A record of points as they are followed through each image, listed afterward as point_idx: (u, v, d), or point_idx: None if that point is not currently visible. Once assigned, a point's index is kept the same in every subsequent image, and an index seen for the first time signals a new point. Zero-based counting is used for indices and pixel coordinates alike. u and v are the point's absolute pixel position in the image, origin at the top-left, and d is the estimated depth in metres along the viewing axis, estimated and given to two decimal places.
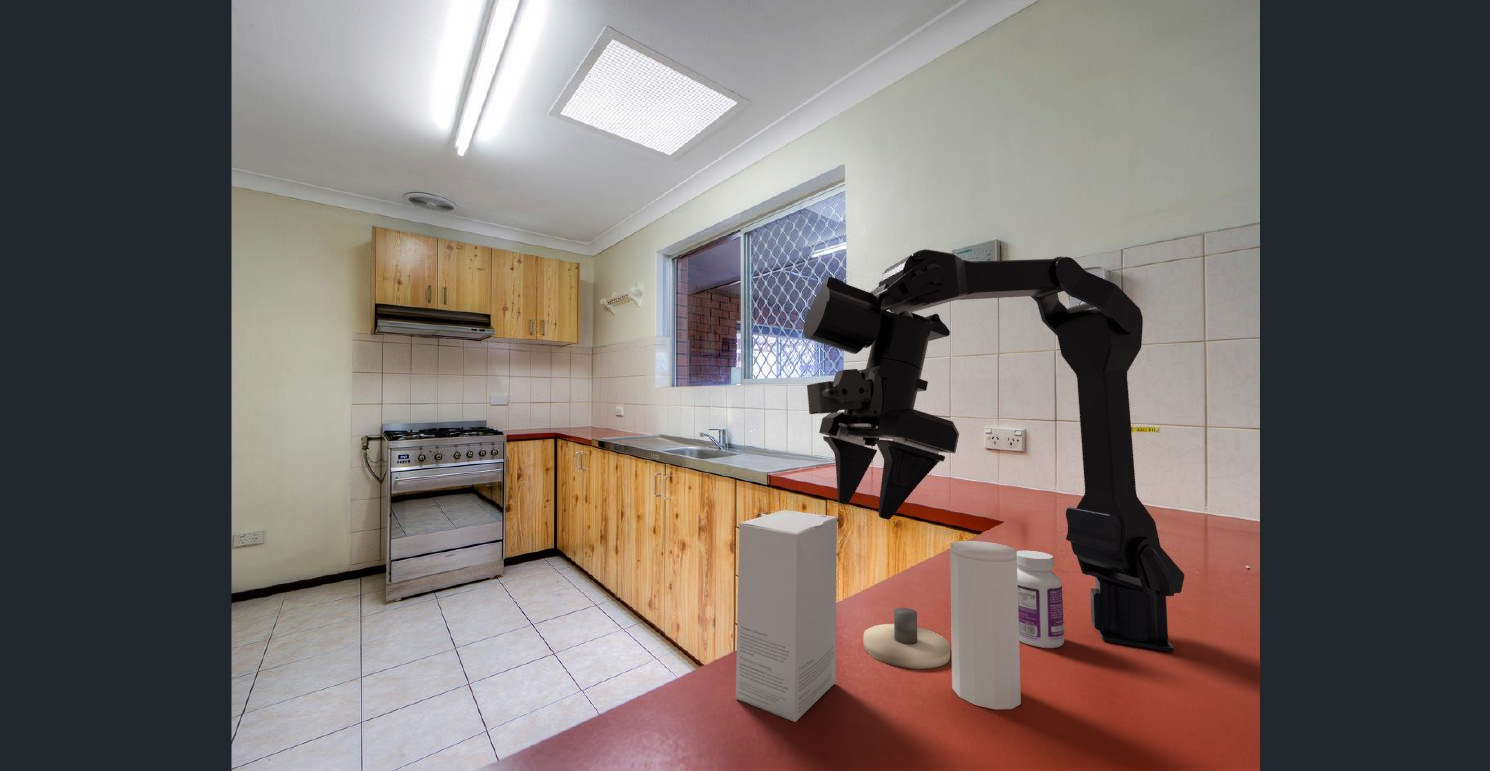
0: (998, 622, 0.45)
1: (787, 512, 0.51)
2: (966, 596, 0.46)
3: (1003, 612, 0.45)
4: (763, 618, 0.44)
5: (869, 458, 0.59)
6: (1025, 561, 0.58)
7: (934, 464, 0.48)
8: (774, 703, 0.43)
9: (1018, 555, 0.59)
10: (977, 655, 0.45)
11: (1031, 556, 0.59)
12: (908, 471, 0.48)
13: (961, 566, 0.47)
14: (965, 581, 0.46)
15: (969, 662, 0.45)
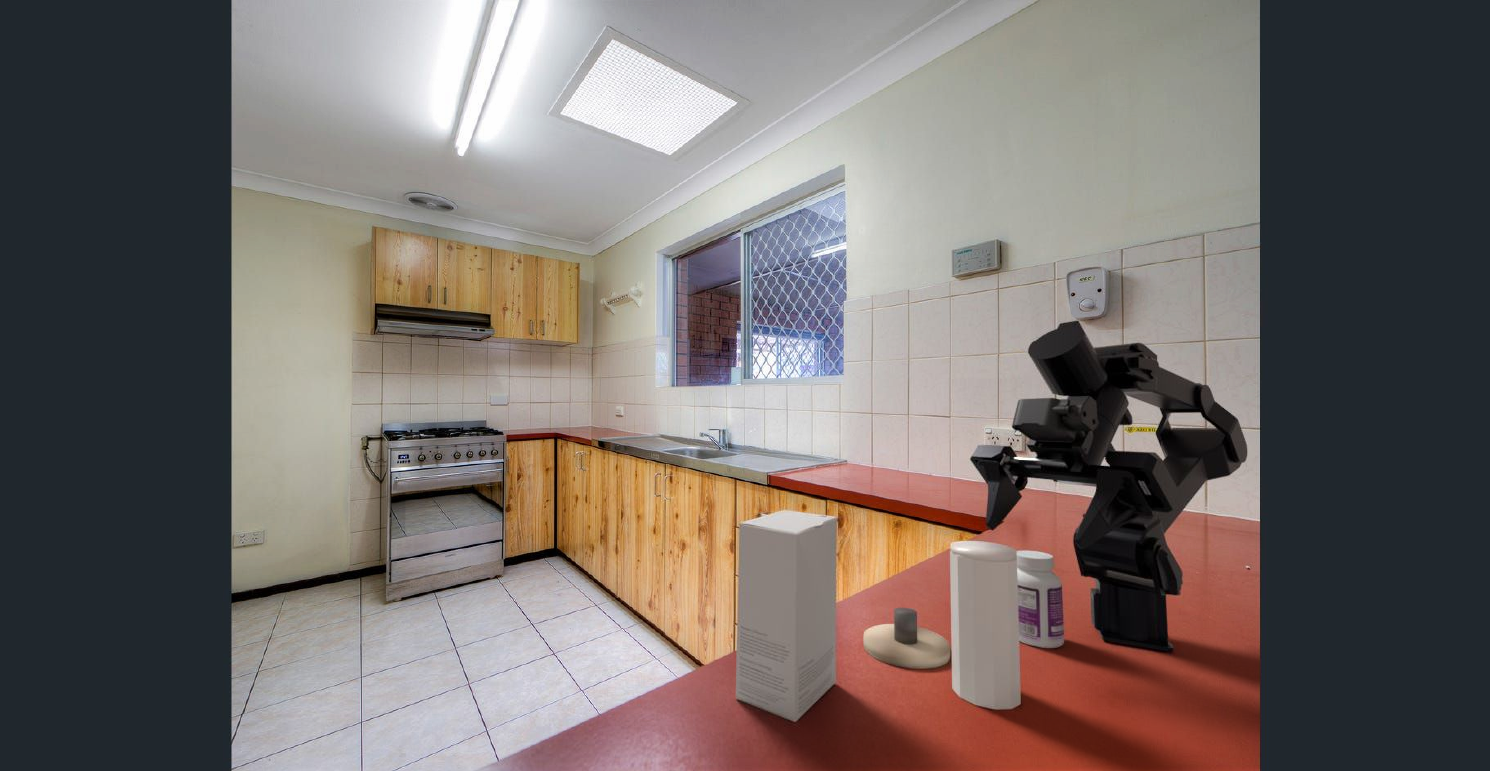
0: (998, 622, 0.45)
1: (787, 512, 0.51)
2: (966, 596, 0.46)
3: (1003, 612, 0.45)
4: (763, 618, 0.44)
5: (1016, 499, 0.59)
6: (1025, 561, 0.58)
7: (1137, 516, 0.49)
8: (774, 703, 0.43)
9: (1018, 555, 0.59)
10: (977, 655, 0.45)
11: (1031, 556, 0.59)
12: (1113, 512, 0.49)
13: (961, 566, 0.47)
14: (965, 581, 0.46)
15: (969, 662, 0.45)
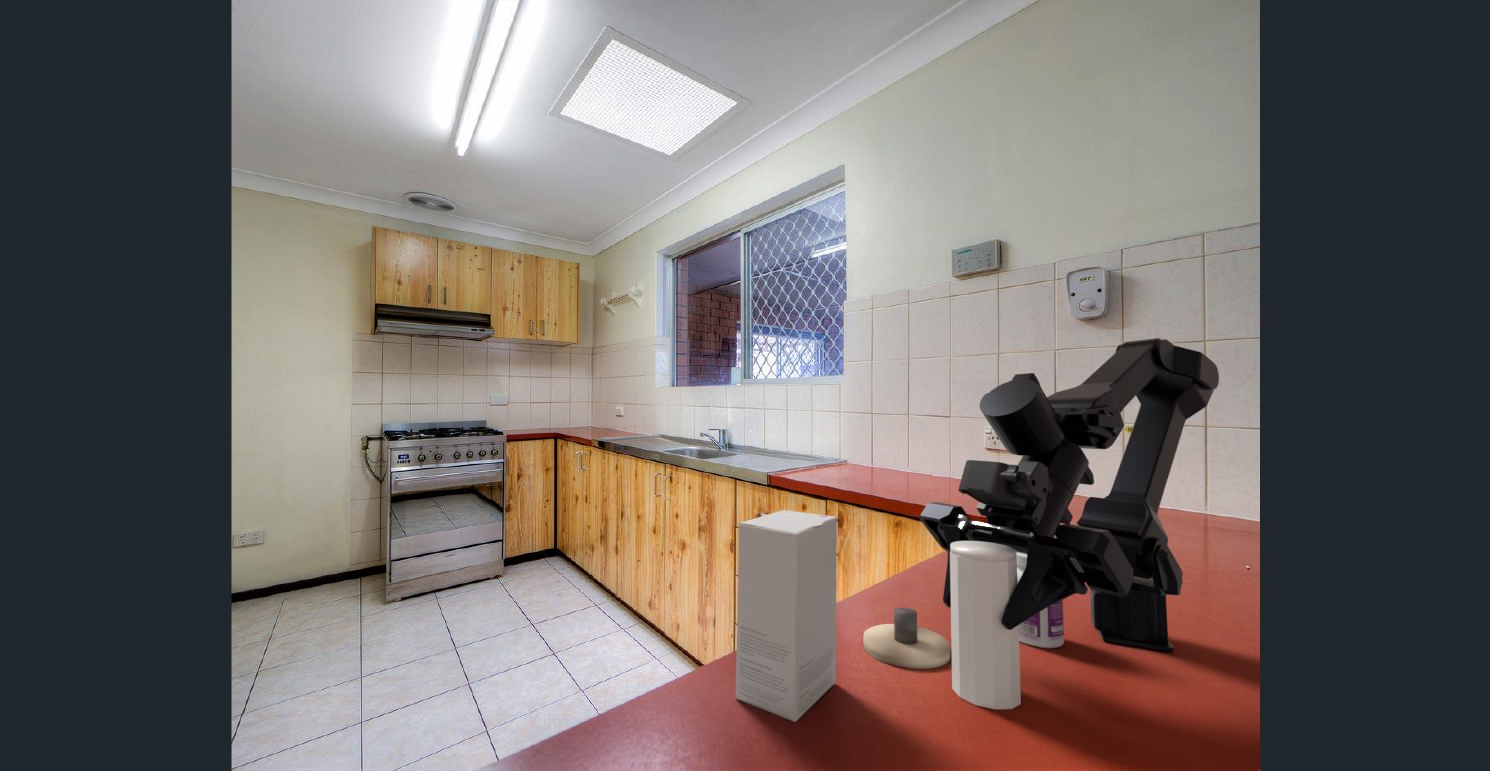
0: (998, 622, 0.45)
1: (787, 512, 0.51)
2: (966, 596, 0.46)
3: (1003, 612, 0.45)
4: (763, 618, 0.44)
5: None
6: (1025, 561, 0.59)
7: (1070, 594, 0.45)
8: (774, 703, 0.43)
9: (1018, 555, 0.59)
10: (976, 655, 0.45)
11: None
12: (1044, 589, 0.45)
13: (961, 566, 0.47)
14: (965, 581, 0.46)
15: (969, 662, 0.45)
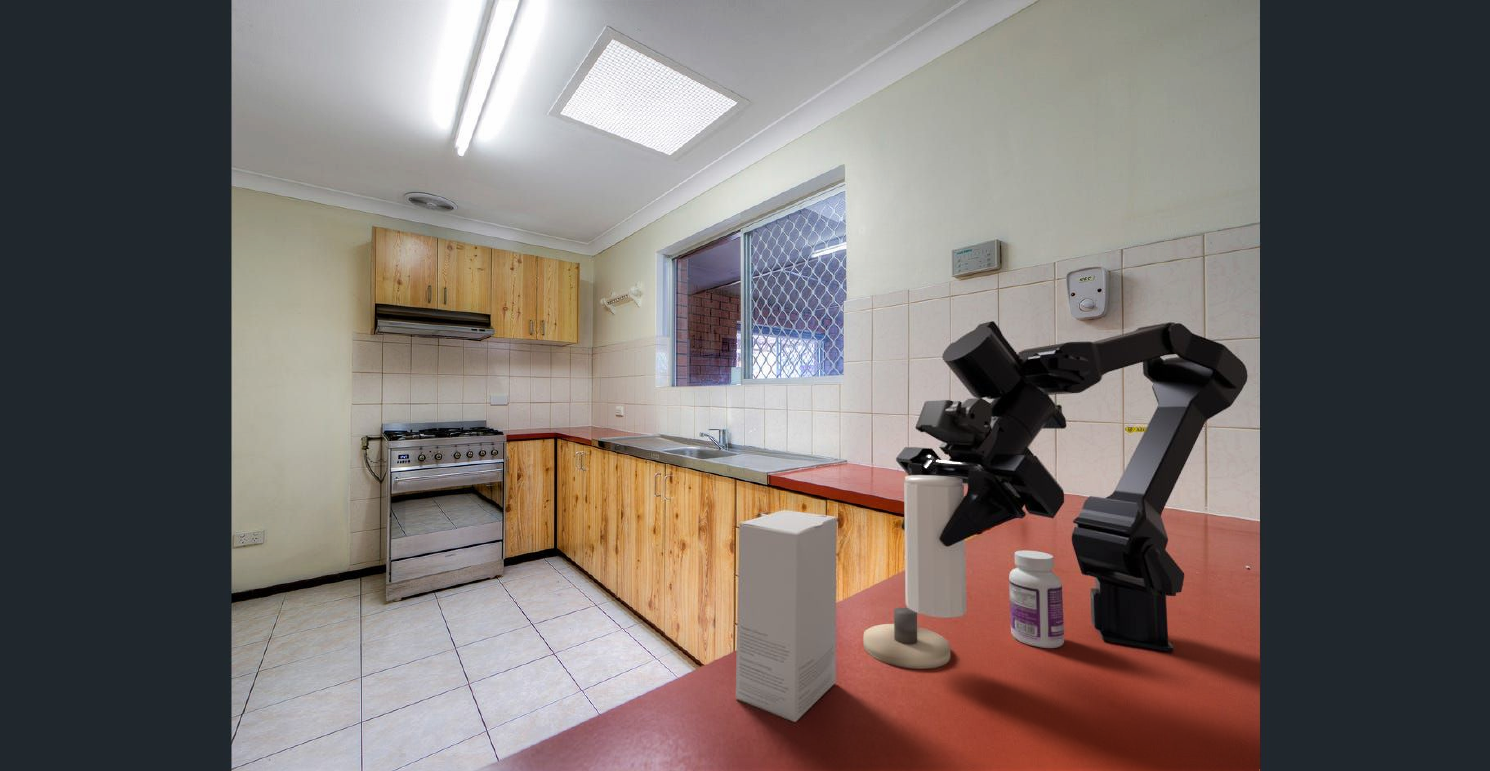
0: (938, 540, 0.50)
1: (787, 512, 0.51)
2: (912, 518, 0.51)
3: None
4: (763, 618, 0.44)
5: None
6: (1025, 561, 0.59)
7: (1011, 518, 0.49)
8: (774, 703, 0.43)
9: (1018, 555, 0.59)
10: (919, 569, 0.50)
11: (1031, 556, 0.59)
12: (984, 512, 0.49)
13: (909, 492, 0.52)
14: (911, 505, 0.52)
15: (914, 576, 0.51)
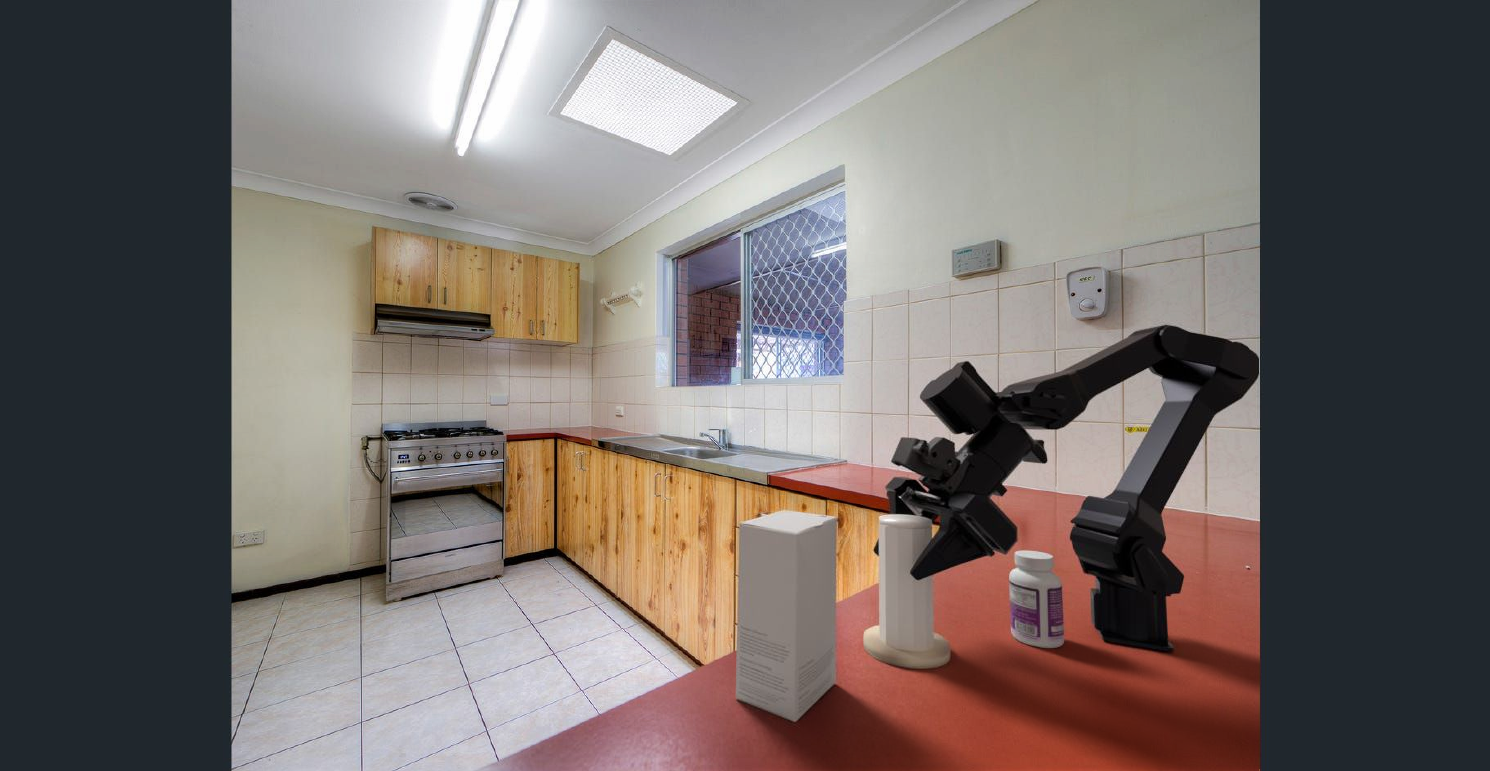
0: (902, 578, 0.54)
1: (787, 512, 0.51)
2: (882, 556, 0.56)
3: (907, 570, 0.54)
4: (763, 618, 0.44)
5: None
6: (1025, 561, 0.59)
7: (981, 555, 0.51)
8: (774, 703, 0.43)
9: (1018, 555, 0.59)
10: (887, 604, 0.55)
11: (1031, 556, 0.59)
12: (955, 549, 0.51)
13: (880, 531, 0.57)
14: (881, 544, 0.56)
15: (883, 610, 0.55)
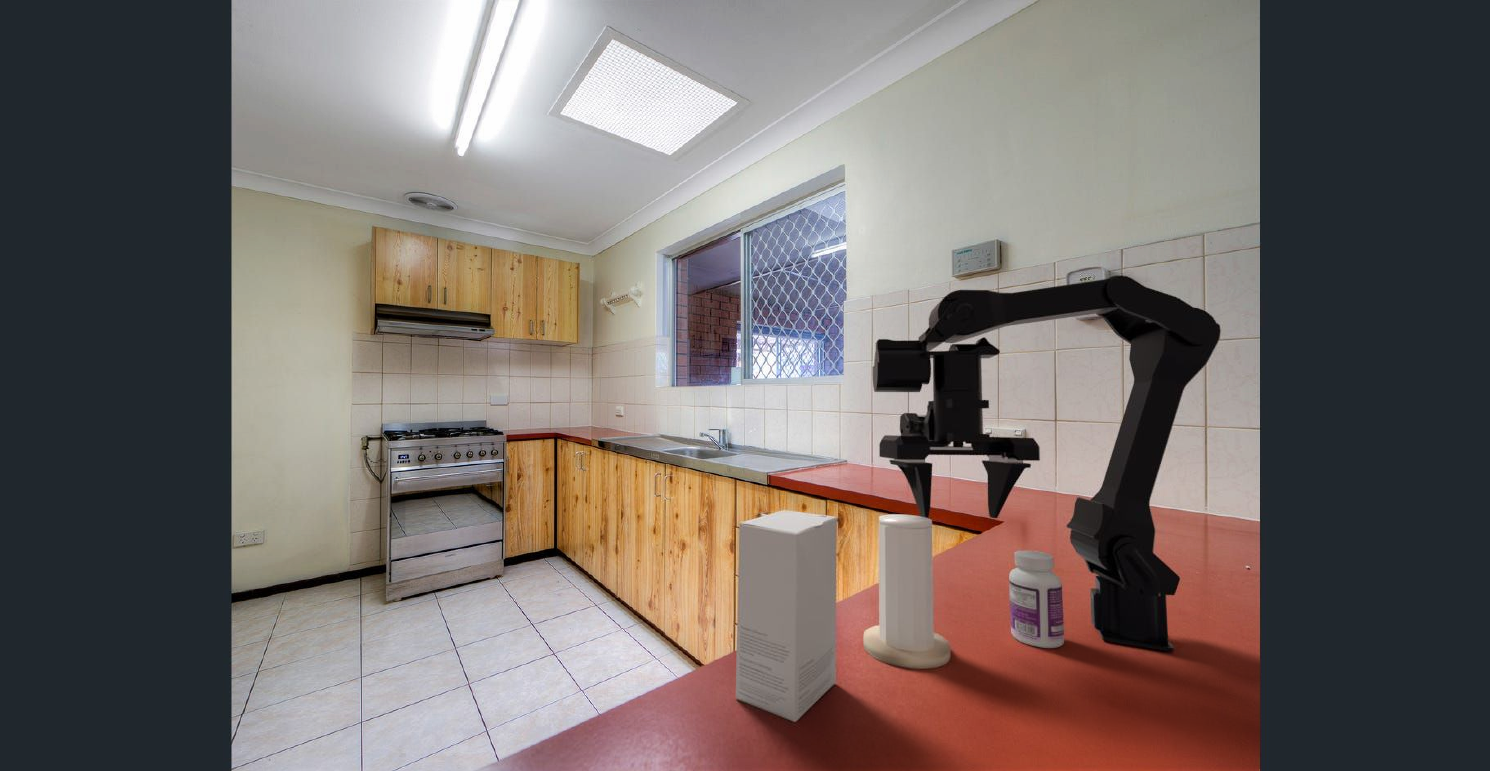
0: (902, 578, 0.54)
1: (787, 512, 0.51)
2: (882, 556, 0.56)
3: (907, 570, 0.54)
4: (763, 618, 0.44)
5: (1006, 473, 0.63)
6: (1025, 561, 0.59)
7: (916, 470, 0.60)
8: (774, 703, 0.43)
9: (1018, 555, 0.59)
10: (887, 604, 0.55)
11: (1031, 556, 0.59)
12: None
13: (880, 531, 0.57)
14: (881, 544, 0.56)
15: (883, 610, 0.55)
